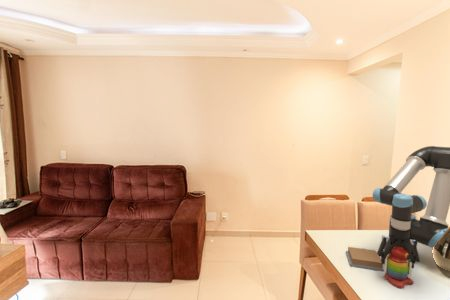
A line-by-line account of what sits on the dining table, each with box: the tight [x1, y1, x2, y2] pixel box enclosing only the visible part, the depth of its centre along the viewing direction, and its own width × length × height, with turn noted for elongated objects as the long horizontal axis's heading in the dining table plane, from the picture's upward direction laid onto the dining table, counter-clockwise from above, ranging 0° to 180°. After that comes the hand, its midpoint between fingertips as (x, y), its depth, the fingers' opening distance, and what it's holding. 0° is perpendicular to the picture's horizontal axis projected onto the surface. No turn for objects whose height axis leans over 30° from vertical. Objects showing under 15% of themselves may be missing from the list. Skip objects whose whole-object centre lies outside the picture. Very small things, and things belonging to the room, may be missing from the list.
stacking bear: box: [384, 246, 414, 289], centre depth 117 cm, size 11×10×18 cm
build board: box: [345, 246, 384, 273], centre depth 134 cm, size 16×14×4 cm
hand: (396, 272), depth 118 cm, fingers closed on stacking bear, 9 cm apart
